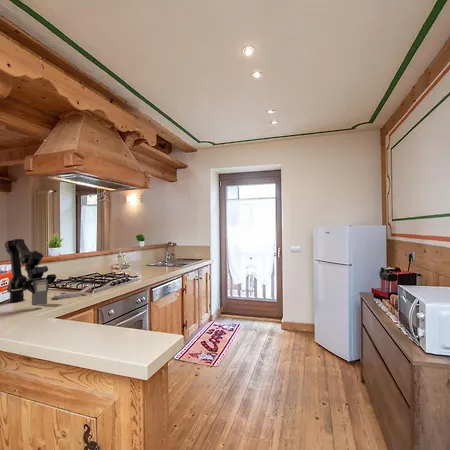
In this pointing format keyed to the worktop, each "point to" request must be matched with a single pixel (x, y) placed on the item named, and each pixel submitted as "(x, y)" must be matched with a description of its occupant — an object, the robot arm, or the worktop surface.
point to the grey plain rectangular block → (39, 292)
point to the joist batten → (50, 305)
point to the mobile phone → (70, 294)
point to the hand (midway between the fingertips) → (40, 292)
